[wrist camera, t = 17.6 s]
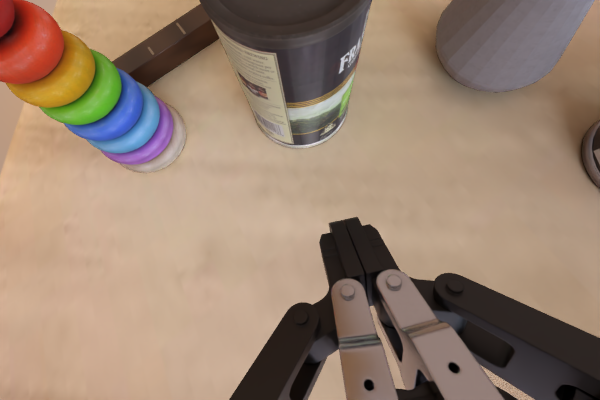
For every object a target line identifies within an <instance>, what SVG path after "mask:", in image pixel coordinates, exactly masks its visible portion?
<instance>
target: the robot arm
mask: <svg viewBox="0 0 600 400" xmlns="http://www.w3.org/2000/svg"><path fill="white" fill-rule="evenodd" d="M582 158H583V162H584V165H585V168H586V170H587V172H588V174H589V176H590V177H591V179H592V180H593V181H594V182H595V184H596V185H597V186H598V187H599V188H600V120H599V121H598V122H596V123H595V124H594V125H593V126H592V127H591V128H590V129H589V130H588V132H587V133H586V135H585V138H584V140H583V144H582ZM329 227H330V233H327V234H322V235H321V239H320V242H319V243H320V248H321V253H322V258H323V263H324V267H325V271H326V275H327V280H328V284H329V291H328V293H327V295H326V296H325V297H324V298H323V299H322V300H320V301H319V302H317V303H315V304H313V305H311V304H309V303H298V304H295V305H293V306H292V307H291V308H290V309H289V310H288V311H287V312H286V314H285V315H284V317H283V318H282V320H281V322H280V323H279V325H278V326H277V328H276V329H275V331H274V332H273V334H272V335H271V337H270V338H269V340H268V341H267V343H266V344H265V346H264V347H263V349H262V351H261V352H260V354H259V355H258V357H257V358H256V360H255V361H254V363H253V364H252V366H251V367H250V369H249V370H248V372H247V373H246V375H245V377H244V378H243V380H242V381H241V383H240V384H239V386H238V387H237V389H236V390H235V392H234V393H233V395H232V396H231V398H230V399H229V400H308V397H309V395H310V393H311V391H312V389H313V387H314V385H315V382H316V380H317V378H318V376H319V374H320V372H321V370H322V367H323V365H324V363H325V361H326V359H327V356H329V355H330V354H332V353H333V352H335V351H336V350H338V349H339V352H340V359H341V365H342V372H343V378H344V385H345V392H346V398H347V400H518V399H516V398H515V397H513V396H512V395H510V394H509V393H507V392H505V391H504V390H502V389H500V388H498V387H496V386H495V385H494V384H493V383H492V381H491V380H490V379H489V377H488V376H487V374H486V373H485V372H484V370H483V369H482V367H481V366H480V365H482V366H483V367H485V368H486V369H488V370H489V371H491V372H493V373H494V374H496V375H497V376H499V377H500V378H502V379H504V380H505V381H507V382H508V383H510V384H512V385H513V386H515V387H516V388H518V389H519V390H521V391H523V392H524V393H526V394H527V395H529V396H530V397H532V398H534V399H535V400H600V338H598V337H596V336H594V335H591V334H589V333H587V332H585V331H582V330H580V329H578V328H576V327H574V326H571V325H569V324H567V323H565V322H563V321H560V320H558V319H556V318H554V317H551V316H549V315H547V314H545V313H543V312H540V311H538V310H536V309H534V308H531V307H529V306H527V305H525V304H523V303H520V302H518V301H516V300H514V299H511V298H509V297H507V296H505V295H503V294H500V293H498V292H496V291H494V290H491V289H489V288H487V287H485V286H483V285H480V284H478V283H476V282H474V281H472V280H469V279H467V278H465V277H463V276H460V275H457V274H453V273H444V274H441V275H439V276H438V277H437V278H436V279H435V281H428V280H417V279H413V278H411V277H408V276H407V275H406V274H405V273H403V272H402V271H400V269H399V268H398V266H397V265H396V263H395V261H394V259H393V257H392V256H391V254H390V252H389V250H388V248H387V247H386V245H385V243H384V241H383V240H382V238H381V236H380V234H379V232H378V231H377V230H376V229H375V228H374V227H372V226H371V225H370V224H369V225H364V226H362V225H361V223H360V221H359V219H358V217H354V218H350V219H345V220H341V221H336V222H331V223H329ZM373 305H374V307H375V309H376V312H377V320H378V323H379V326H380V328H381V330H382V332H383V334H384V336H385V338H386V341H387V343H388V345H389V347H390V349H391V351H392V353H393V355H394V358H395V360H396V362H397V364H398V367H399V370H400V373H401V377H402V381H403V383H404V386H405V388H406V390H404V389H395V385H394V382H393V379H392V375H391V372H390V368H389V365H388V362H387V358H386V355H385V351H384V348H383V345H382V342H381V340H380V338H379V337H378V335H377V332H376V329H375V325H374V321H373V318H372V314H371V311H370V307H369V306H373ZM479 364H480V365H479Z"/></svg>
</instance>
